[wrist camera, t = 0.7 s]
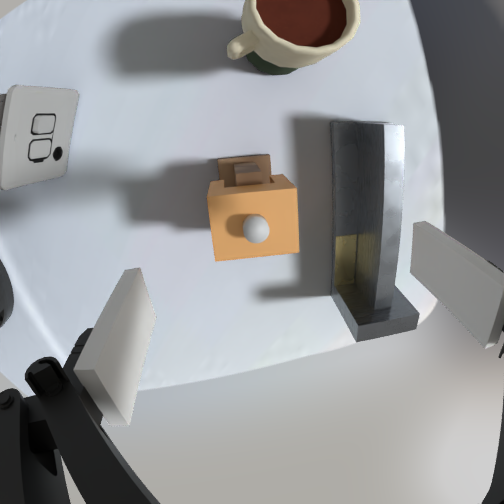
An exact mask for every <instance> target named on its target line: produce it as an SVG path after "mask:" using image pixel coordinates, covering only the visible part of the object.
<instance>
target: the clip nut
mask: <svg viewBox="0 0 504 504" xmlns="http://www.w3.org/2000/svg"><path fill="white" fill-rule="evenodd" d="M269 178H270V183H267V184H256V185H246V186H236V187H227V188H225V183H224V180H217V181H211V182H210V186H209V190H208V194H207V203H208V211H209V219H210V226H211V234H212V241H213V248H214V256H215V261H225V260H234V259H244V258H253V257H262V256H271V255H281V254H290V253H299V227H298V201H297V188H296V187H295V186H294V185H293V184H292V183H291V182H290V181H289V180H288V179H287V178H286V177H285V176H284V175H283V174H280V175H269Z"/></svg>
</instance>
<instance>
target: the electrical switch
mask: <svg viewBox="0 0 504 504" xmlns="http://www.w3.org/2000/svg"><path fill="white" fill-rule="evenodd" d="M78 100H79V93H78V91H77V90H72V89H63V88H51V87H37V86H24V85H13V86H12V87H10V88H8V92H7V94H2V95H0V126H1V127H0V189H2V190H5V191H6V190H9V189H13V188H17V187H21V186H24V185H28V184H32V183H37V182H41V181H45V180H49V179H54V178H58V177H62V176H63V175H64V174H65V172H66V170H67V162H68V155H69V148H70V142H71V136H72V130H73V124H74V119H75V114H76V109H77V104H78ZM1 101H2V102H1Z"/></svg>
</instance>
